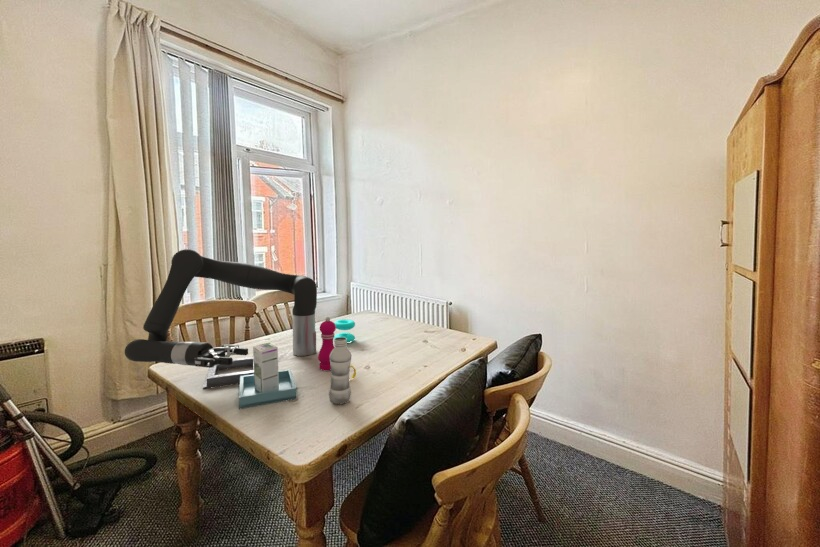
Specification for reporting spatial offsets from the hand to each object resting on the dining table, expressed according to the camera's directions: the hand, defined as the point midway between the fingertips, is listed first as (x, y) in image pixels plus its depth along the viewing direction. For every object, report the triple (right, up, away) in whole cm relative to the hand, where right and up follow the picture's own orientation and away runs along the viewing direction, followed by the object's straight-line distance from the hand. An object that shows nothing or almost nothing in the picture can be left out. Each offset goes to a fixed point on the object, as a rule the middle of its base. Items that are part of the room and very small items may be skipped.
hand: (240, 356), depth 107 cm
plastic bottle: (+33, -13, -4) cm, 36 cm away
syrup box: (+8, -11, 0) cm, 14 cm away
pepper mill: (+23, -10, +22) cm, 33 cm away
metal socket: (-9, -10, +13) cm, 19 cm away
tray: (+9, -12, +1) cm, 15 cm away
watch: (+32, -12, +11) cm, 36 cm away
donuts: (+23, -6, +54) cm, 59 cm away
